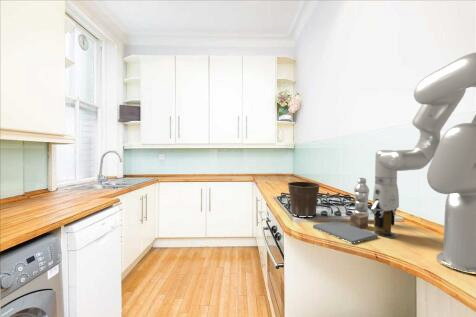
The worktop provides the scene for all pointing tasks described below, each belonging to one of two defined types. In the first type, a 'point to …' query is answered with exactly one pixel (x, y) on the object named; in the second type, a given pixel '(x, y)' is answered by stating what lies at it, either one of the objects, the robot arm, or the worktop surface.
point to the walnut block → (359, 220)
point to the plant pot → (303, 198)
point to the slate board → (345, 231)
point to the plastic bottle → (361, 197)
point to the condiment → (385, 226)
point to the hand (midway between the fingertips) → (384, 225)
